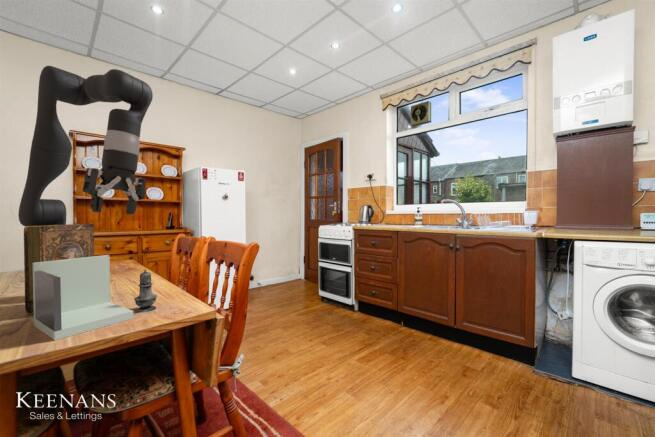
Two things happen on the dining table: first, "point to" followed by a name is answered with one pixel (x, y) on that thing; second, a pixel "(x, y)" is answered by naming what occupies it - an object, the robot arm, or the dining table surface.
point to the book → (54, 249)
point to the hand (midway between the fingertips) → (113, 213)
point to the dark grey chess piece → (145, 294)
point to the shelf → (74, 296)
